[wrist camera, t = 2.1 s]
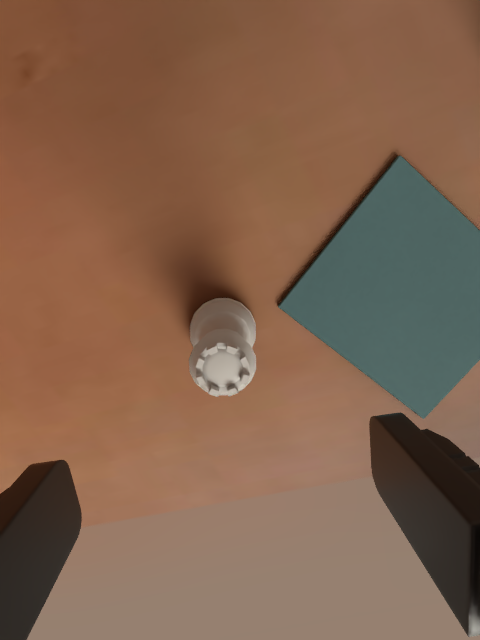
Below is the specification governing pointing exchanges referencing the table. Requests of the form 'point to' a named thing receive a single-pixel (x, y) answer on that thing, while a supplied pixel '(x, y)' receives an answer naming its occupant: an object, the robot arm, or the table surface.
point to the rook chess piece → (222, 347)
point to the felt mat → (398, 290)
